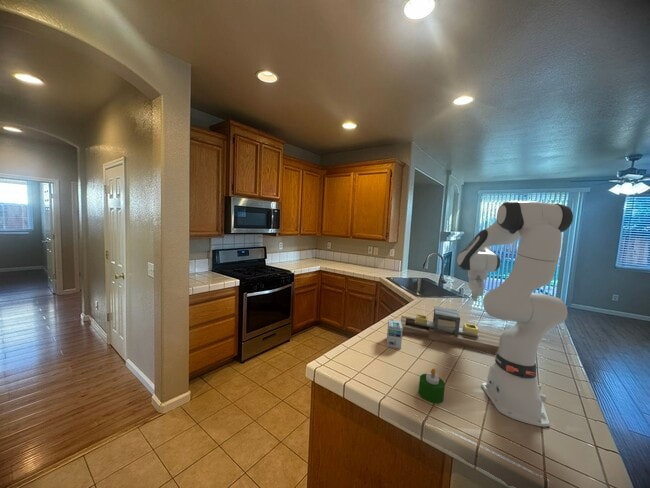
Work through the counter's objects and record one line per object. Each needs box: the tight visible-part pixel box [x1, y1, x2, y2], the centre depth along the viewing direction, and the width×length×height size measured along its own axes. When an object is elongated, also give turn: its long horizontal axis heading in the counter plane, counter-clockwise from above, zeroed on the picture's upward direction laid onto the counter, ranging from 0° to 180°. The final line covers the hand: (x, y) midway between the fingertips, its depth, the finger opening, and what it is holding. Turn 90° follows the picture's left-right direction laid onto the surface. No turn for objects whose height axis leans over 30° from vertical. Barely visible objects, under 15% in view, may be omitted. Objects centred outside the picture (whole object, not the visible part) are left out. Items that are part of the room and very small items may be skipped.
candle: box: [417, 368, 446, 404], centre depth 91 cm, size 8×8×10 cm
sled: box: [415, 313, 479, 337], centre depth 143 cm, size 9×32×4 cm, turn 69°
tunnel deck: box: [400, 306, 501, 355], centre depth 142 cm, size 18×54×14 cm, turn 69°
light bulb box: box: [386, 318, 403, 350], centre depth 129 cm, size 11×7×11 cm, turn 168°
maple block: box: [438, 317, 455, 328], centre depth 143 cm, size 6×9×6 cm, turn 68°
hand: (474, 300), depth 137 cm, fingers closed
